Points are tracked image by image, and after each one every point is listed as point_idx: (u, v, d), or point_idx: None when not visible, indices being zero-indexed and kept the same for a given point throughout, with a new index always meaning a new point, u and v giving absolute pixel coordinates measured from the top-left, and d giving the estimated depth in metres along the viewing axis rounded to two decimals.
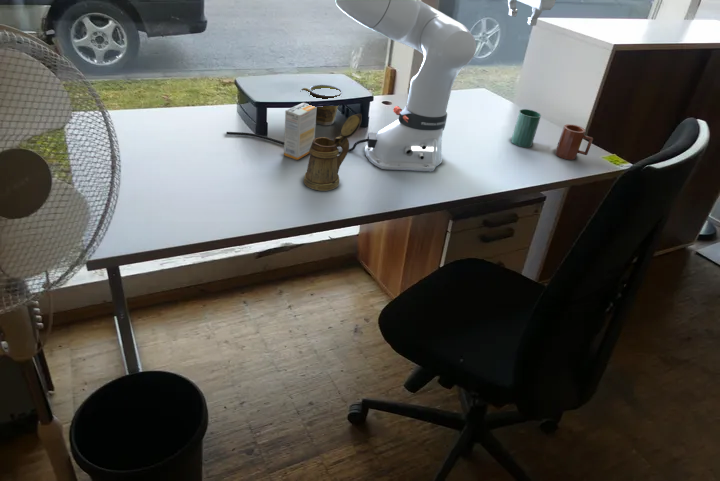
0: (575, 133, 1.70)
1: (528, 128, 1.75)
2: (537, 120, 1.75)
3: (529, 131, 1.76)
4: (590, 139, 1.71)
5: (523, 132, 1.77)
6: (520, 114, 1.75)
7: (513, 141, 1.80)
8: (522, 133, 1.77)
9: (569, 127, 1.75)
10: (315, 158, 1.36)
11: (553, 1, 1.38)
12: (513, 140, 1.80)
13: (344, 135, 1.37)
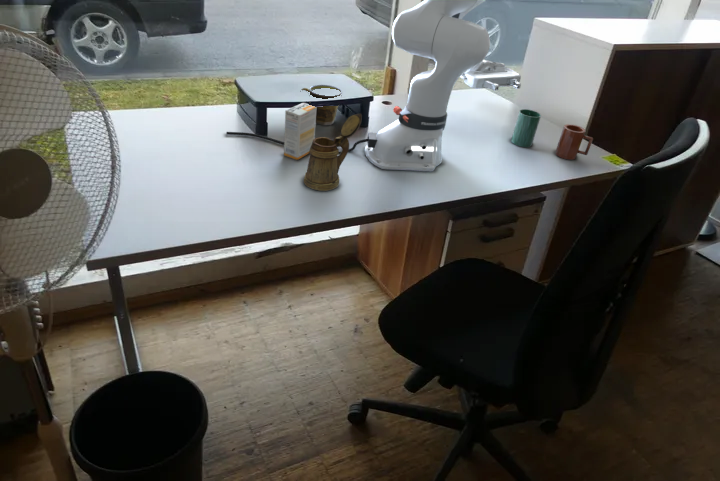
0: (575, 133, 1.70)
1: (528, 128, 1.75)
2: (537, 120, 1.75)
3: (529, 131, 1.76)
4: (590, 139, 1.71)
5: (523, 132, 1.77)
6: (520, 114, 1.75)
7: (513, 141, 1.80)
8: (522, 133, 1.77)
9: (569, 127, 1.75)
10: (315, 158, 1.36)
11: None
12: (513, 140, 1.80)
13: (344, 135, 1.37)
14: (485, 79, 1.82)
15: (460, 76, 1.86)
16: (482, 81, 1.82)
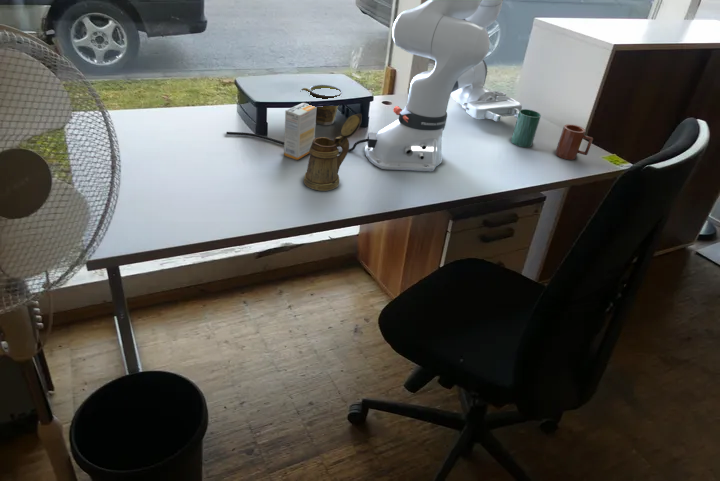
0: (575, 133, 1.70)
1: (528, 128, 1.75)
2: (537, 120, 1.75)
3: (529, 131, 1.76)
4: (590, 139, 1.71)
5: (523, 132, 1.77)
6: (520, 114, 1.75)
7: (513, 141, 1.80)
8: (522, 133, 1.77)
9: (569, 127, 1.75)
10: (315, 158, 1.36)
11: None
12: (513, 140, 1.80)
13: (344, 135, 1.37)
14: (487, 110, 1.84)
15: (462, 106, 1.88)
16: (484, 112, 1.84)
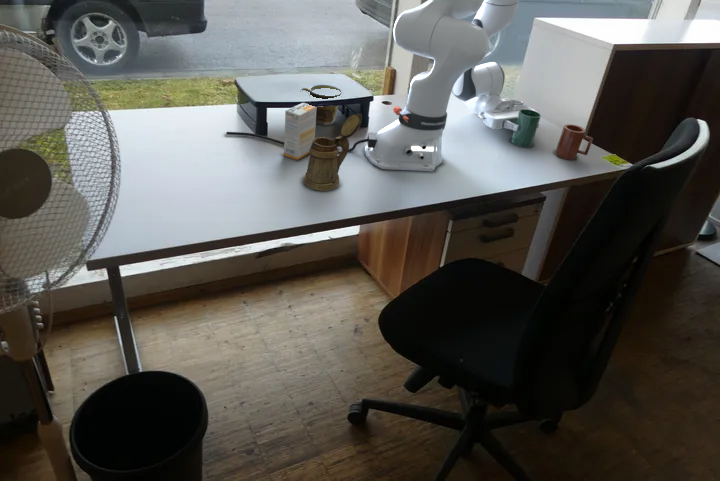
0: (575, 133, 1.70)
1: (528, 128, 1.75)
2: (537, 120, 1.75)
3: (529, 131, 1.76)
4: (590, 139, 1.71)
5: (523, 132, 1.77)
6: (520, 114, 1.75)
7: (513, 141, 1.80)
8: (522, 133, 1.77)
9: (569, 127, 1.75)
10: (315, 158, 1.36)
11: None
12: (513, 140, 1.80)
13: (344, 135, 1.37)
14: (505, 119, 1.78)
15: (478, 116, 1.82)
16: (502, 122, 1.78)
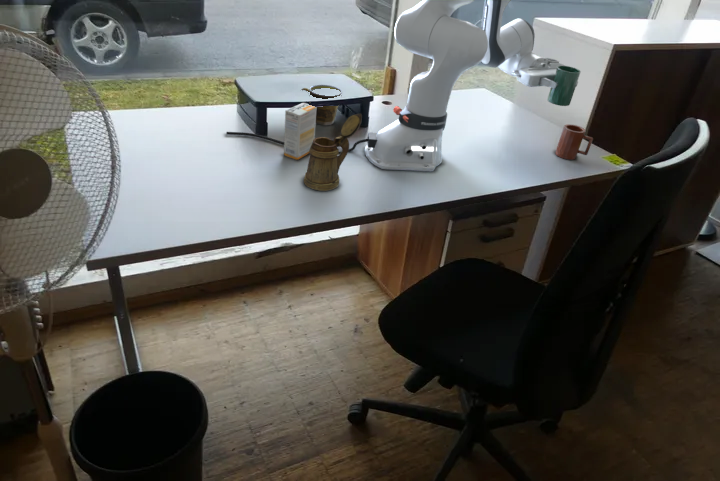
0: (575, 133, 1.70)
1: (567, 85, 1.65)
2: (577, 76, 1.64)
3: (568, 88, 1.65)
4: (590, 139, 1.71)
5: (561, 89, 1.66)
6: (558, 70, 1.65)
7: (550, 100, 1.69)
8: (560, 91, 1.66)
9: (569, 127, 1.75)
10: (315, 158, 1.36)
11: None
12: (550, 99, 1.69)
13: (344, 135, 1.37)
14: (541, 76, 1.67)
15: (513, 73, 1.71)
16: (538, 79, 1.67)
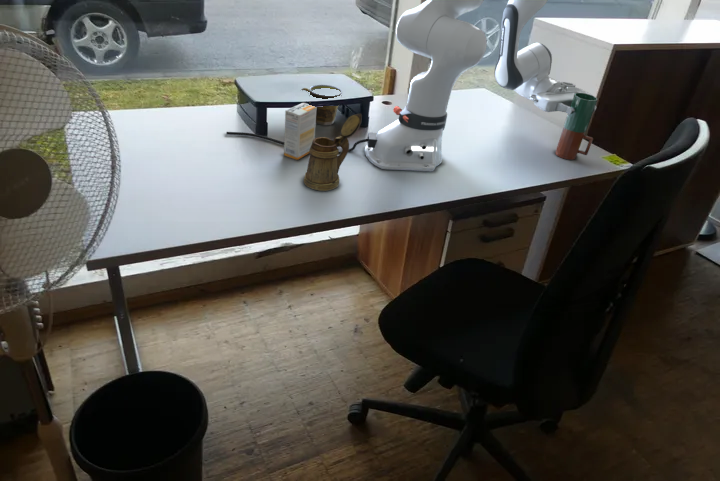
0: (575, 133, 1.70)
1: (584, 112, 1.66)
2: (594, 104, 1.65)
3: (585, 115, 1.67)
4: (590, 139, 1.71)
5: (578, 116, 1.67)
6: (575, 97, 1.66)
7: (566, 126, 1.71)
8: (577, 118, 1.67)
9: None
10: (315, 158, 1.36)
11: None
12: (567, 125, 1.71)
13: (344, 135, 1.37)
14: (559, 102, 1.68)
15: (530, 98, 1.72)
16: (556, 104, 1.68)
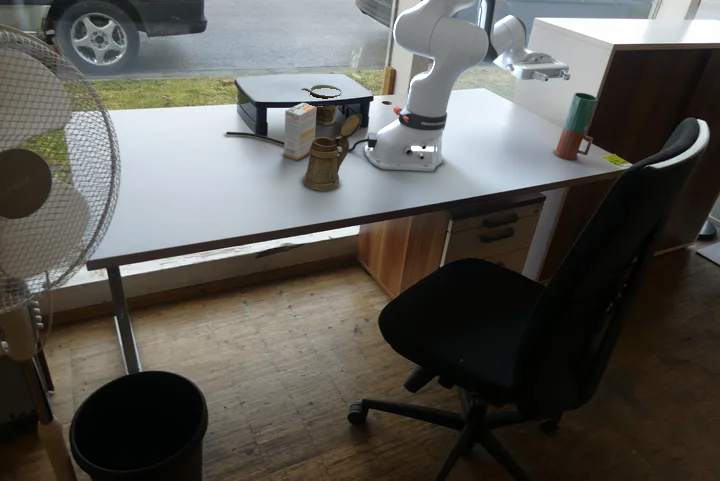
0: (575, 133, 1.70)
1: (584, 112, 1.66)
2: (594, 104, 1.65)
3: (585, 115, 1.67)
4: (590, 139, 1.71)
5: (578, 116, 1.67)
6: (575, 97, 1.66)
7: (566, 126, 1.71)
8: (577, 118, 1.67)
9: None
10: (315, 158, 1.36)
11: None
12: (567, 125, 1.71)
13: (344, 135, 1.37)
14: (534, 70, 1.74)
15: (506, 67, 1.78)
16: (531, 72, 1.74)
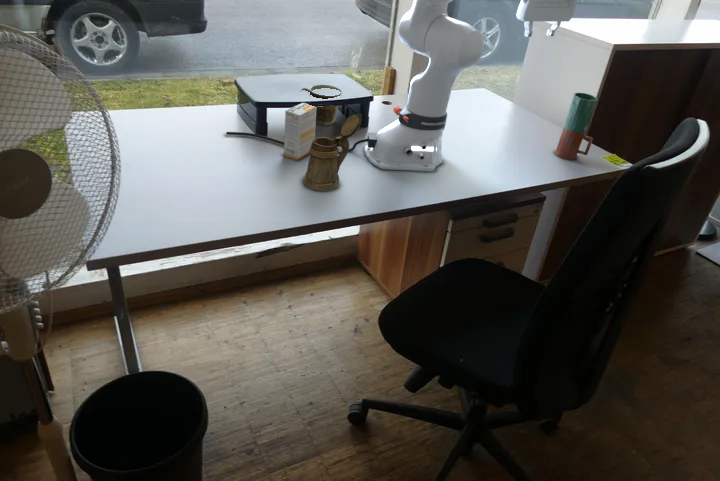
0: (575, 133, 1.70)
1: (584, 112, 1.66)
2: (594, 104, 1.65)
3: (585, 115, 1.67)
4: (590, 139, 1.71)
5: (578, 116, 1.67)
6: (575, 97, 1.66)
7: (566, 126, 1.71)
8: (577, 118, 1.67)
9: None
10: (315, 158, 1.36)
11: None
12: (567, 125, 1.71)
13: (344, 135, 1.37)
14: (531, 21, 1.66)
15: None
16: None
